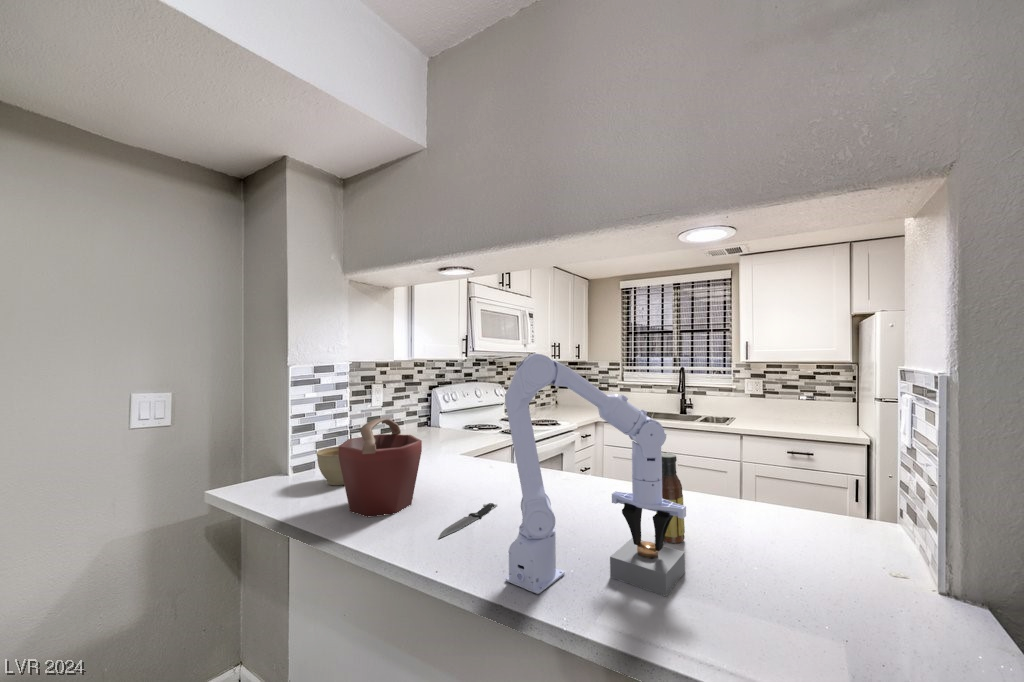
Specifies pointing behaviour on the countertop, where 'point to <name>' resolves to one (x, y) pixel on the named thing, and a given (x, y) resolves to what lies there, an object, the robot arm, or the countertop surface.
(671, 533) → the sauce bottle
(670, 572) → the block
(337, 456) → the planter bowl
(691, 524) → the countertop surface
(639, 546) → the plunger
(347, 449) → the bucket
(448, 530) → the knife
